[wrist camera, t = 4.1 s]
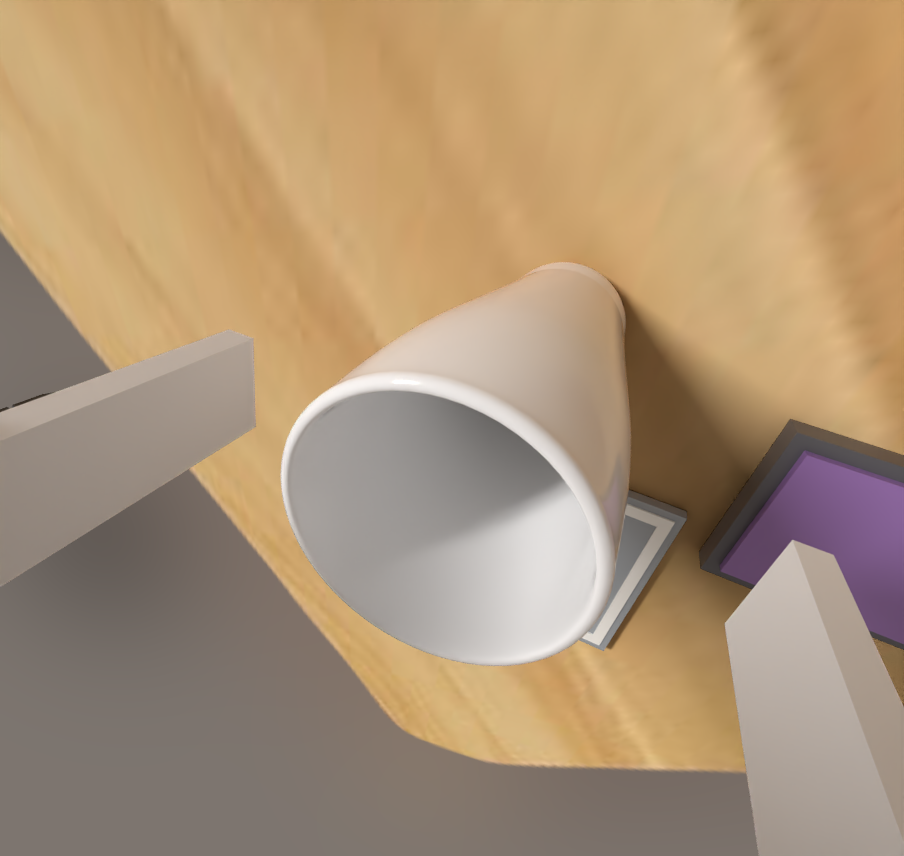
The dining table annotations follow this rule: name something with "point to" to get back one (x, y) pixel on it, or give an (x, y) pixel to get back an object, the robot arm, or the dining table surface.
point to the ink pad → (822, 520)
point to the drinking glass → (475, 472)
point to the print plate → (636, 560)
